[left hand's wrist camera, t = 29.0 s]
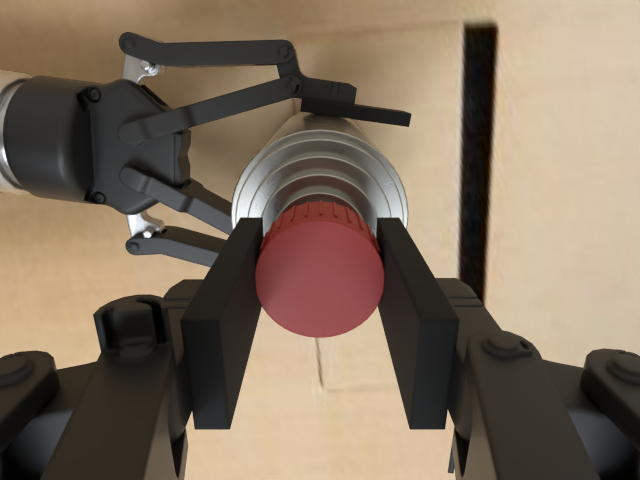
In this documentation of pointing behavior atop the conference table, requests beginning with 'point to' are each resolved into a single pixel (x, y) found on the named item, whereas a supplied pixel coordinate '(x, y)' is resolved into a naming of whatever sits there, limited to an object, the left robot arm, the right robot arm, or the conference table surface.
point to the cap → (319, 270)
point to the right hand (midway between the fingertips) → (392, 184)
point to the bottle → (319, 173)
